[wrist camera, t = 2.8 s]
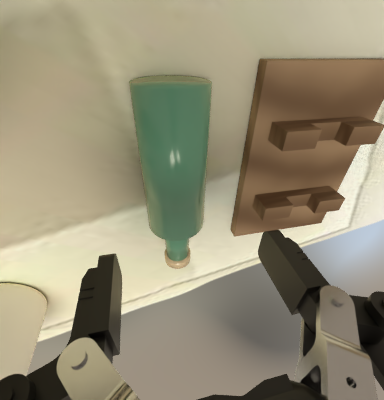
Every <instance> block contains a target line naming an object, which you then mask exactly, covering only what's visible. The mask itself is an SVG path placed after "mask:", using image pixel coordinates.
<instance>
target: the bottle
mask: <svg viewBox="0 0 384 400" xmlns="http://www.w3.org/2000/svg"><path fill="white" fill-rule="evenodd" d="M129 84H130V92H131V99H132V106H133V113H134V120H135V127H136V134H137V141H138V148H139V155H140V163H141V170H142V177H143V184H144V191H145V198H146V205H147V212H148V219H149V226H150V229H151V231H152V232H153V233H154V234H155V235H156V236H158V237H160V238H162V239H165V241H166V250H165V261H166V263H167V265H168V266H170V267H172V268H175V269H179V268H183V267H185V266H186V265H187V264H188V263H189V261H190V249H189V238H191V237H193V236H194V235H196V234H197V233H198V232H199V231H200V230H201V228H202V226H203V217H204V201H205V185H206V169H207V153H208V137H209V121H210V105H211V89H212V82H211V81H210V80H208V79H204V78H200V77H193V76H180V75H165V76H147V77H141V78H136V79H133V80H131V81H130V82H129Z"/></svg>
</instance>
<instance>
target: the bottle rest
mask: <svg viewBox="0 0 384 400" xmlns="http://www.w3.org/2000/svg"><path fill="white" fill-rule="evenodd" d="M383 99H384V59H260V61H259V67H258V73H257V78H256V84H255V90H254V96H253V102H252V108H251V114H250V120H249V126H248V131H247V137H246V143H245V149H244V155H243V161H242V167H241V173H240V178H239V184H238V190H237V196H236V202H235V208H234V214H233V220H232V225H231V231H232V233H233V235H234V236H240V235H246V234H253V233H259V232H265V231H271V230H279V229H285V228H292V227H298V226H305V225H311V224H317V223H321V222H322V220H323V218H324V216H325V214H326V212H329V211H336V210H339V209H340V207H341V205H342V203H343V201H344V199H345V198H344V197H343V196H342V195H340V194H339V193H338V192H337V190H338V188H339V186H340V184H341V182H342V181H343V179H344V177H345V175H346V173H347V171H348V169H349V167H350V165H351V163H352V161H353V159H354V157H355V155H356V153H357V151H358V149H359V147H360V145H363V144H375V143H376V141H377V139H378V137H379V135H380V133H381V131H382V130H383V128H384V125H383V124H380V123H377V122H375V121H373V119H374V117H375V115H376V113H377V111H378V109H379V107H380V105H381V103H382V101H383Z"/></svg>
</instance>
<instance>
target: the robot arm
mask: <svg viewBox="0 0 384 400" xmlns="http://www.w3.org/2000/svg"><path fill="white" fill-rule="evenodd" d="M258 255H259V258H260V260H261V262H262V264H263V266H264V267H265V269H266V271H267V273H268V274H269V276H270V278H271V280H272V281H273V283H274V285H275V286H276V288H277V290H278V292H279V293H280V295H281V297H282V299H283V300H284V302H285V304H286V305H287V307H288V309H289V311H290V312H291V314H292V315H293V314H297V313H300V314H301V316H302V317H303V318H302V320H301V336H300V353H299V361H298V365H297V368H296V372H295V379H294V381H291V380H289V378H288V376H287V374H284V375H281V376H278V377H274V378H271V379H267V380H264V381H263V382H261V383H260V384H259V385H257V386H256V387H255V388H253V389H252V390H251V391H249V392H248V393H247V394H245V395H244V396H229V395H212V396H209V397H205V398H201V399H198V400H378V398H377V393H376V387H375V381H374V376H375V378H376V379H377V381H378V382H379V384H380V385H381V387H382V388H383V390H384V292H374V293H372V294H371V295H370V297H369V298H368V297H360V296H351V295H348V294H347V293H346V292H345V291H343V290H341V289H340V288H338V287H335V286H331V285H330V284H329V283H328V282H327V281H326V279H325V278H324V277H323V276H322V274H321V273H320V272H319V271H318V269H317V268H316V267H315V266H314V264H313V263H312V262H311V261H310V259H308V257H307V256H306V254H305V253H303V251H302V249H301V248H300V247H299V246H298V244H297V243H295V242H294V241H292V240H291V239H290V238H285V237H284V236H283V234H282V233H281V232H280V231H279V230H271V231H265V232H264V233H263V235H262V239H261V242H260V245H259V249H258ZM121 300H122V275H121V270H120V266H119V263H118V259H117V256H116V254H109V255H102V256H99V260H98V267H97V268H91V269H88V271H87V272H86V274H85V276H84V277H83V279H82V283H81V288H80V293H79V298H78V303H77V307H76V312H75V317H74V322H73V327H72V332H71V337H70V340H69V342H68V344H67V346H66V348H65V349H64V350H63V352H62V353H61V354H60V355H59V356H58V357H57V358H56V359H54V360H53V361H51V362H50V363H48V364H46V365H45V366H43V367H41V368H39V369H38V370H36V371H34V372H32V373H30V374H29V375H27V376H24V375H23V374H12V375H9V376H7V377H5V378H3V379H2V380H0V400H140V399H139V398H138V397H137V395H136V394H135V393H134V391H133V390H132V389H131V388H130V386H129V385H127V384H126V382H125V381H124V380H123V378H122V377H121V376H120V375H119V373H118V372H117V370H116V369H115V368H114V366H113V365H112V360H113V356H114V355H119V354H120V326H121Z"/></svg>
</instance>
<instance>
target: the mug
mask: <svg viewBox="0 0 384 400" xmlns="http://www.w3.org/2000/svg"><path fill="white" fill-rule="evenodd" d="M46 310H47V300H46V298H45V297H44V295H43V294H42V293H41V292H39V291H38V290H36V289H34V288H32V287H29V286H26V285H22V284H15V283H0V380H2V379H3V378H5V377H7V376H9V375H12V374H23V375H24V376H27V373H28V370H29V366H30V363H31V360H32V356H33V353H34V350H35V347H36V343H37V340H38V337H39V334H40V330H41V327H42V324H43V321H44V317H45V314H46Z"/></svg>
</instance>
